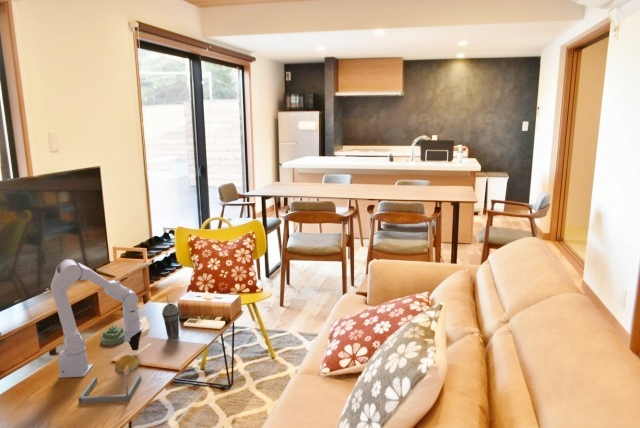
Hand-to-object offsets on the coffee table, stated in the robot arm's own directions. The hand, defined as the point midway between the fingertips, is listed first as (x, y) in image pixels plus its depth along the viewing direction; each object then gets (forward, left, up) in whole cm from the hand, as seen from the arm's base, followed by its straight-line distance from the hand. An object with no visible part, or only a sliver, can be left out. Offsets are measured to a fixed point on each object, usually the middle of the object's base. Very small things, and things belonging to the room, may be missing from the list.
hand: (135, 349), depth 195 cm
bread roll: (0, -10, -2) cm, 10 cm away
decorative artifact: (-14, +13, -2) cm, 19 cm away
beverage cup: (+12, +13, -2) cm, 18 cm away
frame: (0, -26, -2) cm, 26 cm away
